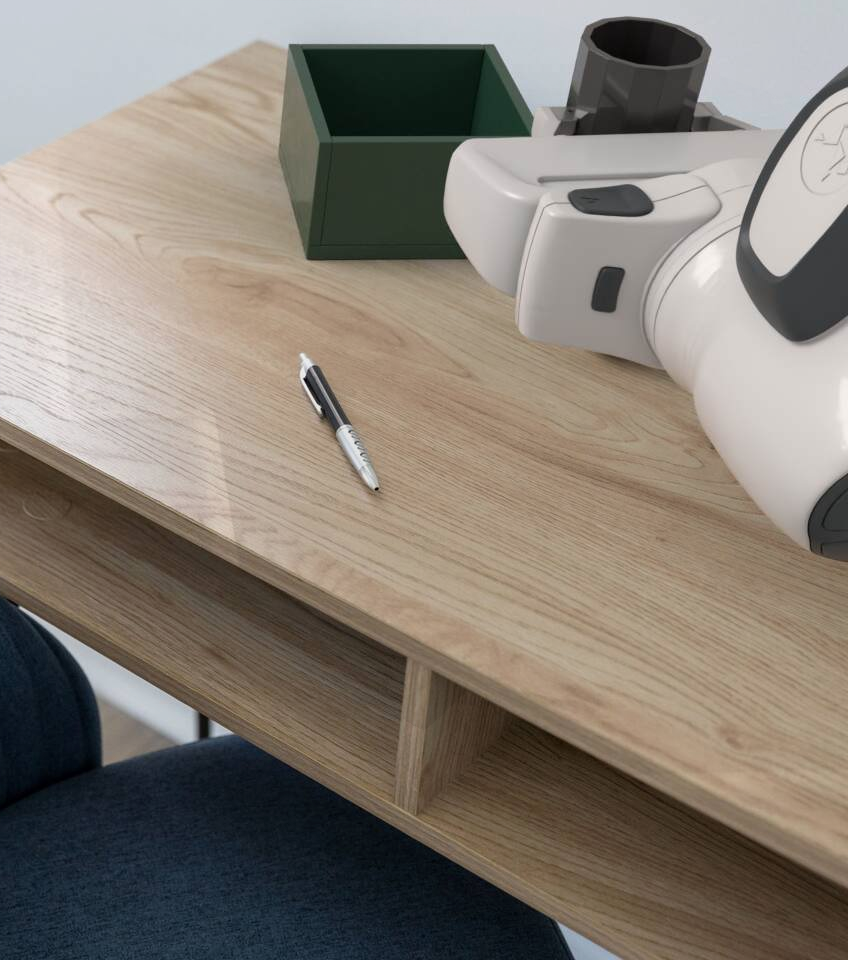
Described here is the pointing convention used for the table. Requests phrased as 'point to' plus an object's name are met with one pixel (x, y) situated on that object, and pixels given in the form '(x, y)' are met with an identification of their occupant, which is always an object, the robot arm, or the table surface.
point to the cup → (637, 77)
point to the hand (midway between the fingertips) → (618, 117)
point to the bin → (386, 141)
